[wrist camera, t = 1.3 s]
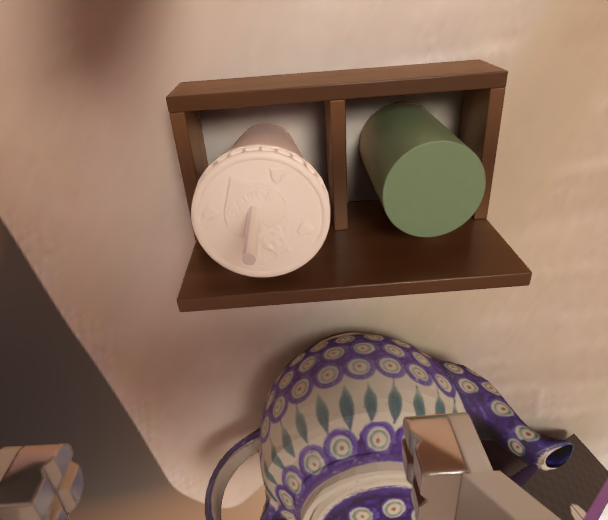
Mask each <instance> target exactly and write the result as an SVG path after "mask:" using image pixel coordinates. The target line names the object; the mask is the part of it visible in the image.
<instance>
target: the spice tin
mask: <svg viewBox="0 0 608 520" xmlns="http://www.w3.org/2000/svg"><path fill="white" fill-rule="evenodd" d="M359 150H360V155H361V158H362V161H363V163H364V166H365V168H366V170H367V172H368V175H369V177H370V179H371V181H372V183H373V186H374V188H375V190H376V192H377V195H378V197H379V199H380V201H381V204H382V206H383V208H384V210H385V213H386V214H387V216H388V218H389V219H390V221H391V222H392V223H393V224H394V225H395V226H396V227H397V228H398V229H400V230H401V231H403V232H405V233H407V234H410V235H413V236H418V237H435V236H440V235H443V234H446V233H449V232H451V231H453V230H455V229H457V228H458V227H460V226H461V225H463V224H464V223H465V222H466V221H467V220H468V219H469V218H470V217H471V216H472V215H473V214H474V213H475V211H476V210H477V208H478V207H479V205H480V203H481V201H482V198H483V195H484V191H485V184H486V178H485V171H484V168H483V165H482V163H481V161H480V159H479V158H478V157H477V155H476V154H475V153H474V152H473V151H472V150H471V149H470V148H468V147H467V146H466V145H465V144H464V143H463V142H462V141H461V140H460V139H458V138H457V137H456V136H455V135H454V134H453V133H452V132H451V131H450V130H448V129H447V128H446V127H445V126H444V125H443V124H442V123H441V122H439V121H438V120H437V119H436V118H435V117H434V116H433V115H432V114H431V113H429V112H428V111H427V110H426V109H425V108H423V107H422V106H420V105H417V104H414V103H410V102H397V103H393V104H389V105H387V106H385V107H383V108H381V109H379V110H378V111H377V112H376V113H374V114H373V115H372V116H371V117H370V119H369V120H368V121H367V123H366V124H365V126H364V128H363V130H362V133H361V136H360V142H359Z"/></svg>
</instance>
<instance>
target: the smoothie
mask: <svg viewBox="0 0 608 520" xmlns="http://www.w3.org/2000/svg"><path fill="white" fill-rule="evenodd" d="M191 218H192V225H193V229H194V232H195V235H196V237H197V239H198V241H199V243H200V244H201V246H202V247H203V249H204V250H205V251H206V252H207V254H208V255H209V256H210V257H211V258H212V259H213V260H215V261H216V262H217V263H219V264H220V265H222V266H223V267H225V268H227V269H229V270H231V271H233V272H236V273H239V274H242V275H246V276H251V277H274V276H279V275H283V274H286V273H289V272H292V271H294V270H296V269H298V268H300V267H301V266H303V265H304V264H306V263H307V262H308V261H309V260H311V259H312V258H313V257H314V256H315V254H316V253H317V252H318V251H319V249H320V248H321V246H322V245H323V243H324V241H325V239H326V236H327V234H328V230H329V225H330V203H329V194H328V192H327V189H326V187H325V184H324V182H323V180H322V178H321V176H320V175H319V174H318V173H317V171H316V170H315V169H314V168H313V166H312V165H311V164H310V163H308V162H307V161H306V160H304V159H303V157H302V155H301V154H300V152H299V150H298V148H297V146H296V144H295V143H294V141H293V139H292V137H291V136H290V134H289V133H288V132H287V131H286V130H284V129H283V128H281V127H279V126H277V125H274V124H269V123H262V124H257V125H255V126H252V127H251V128H249V129H248V130H247V131H245V132H244V134H243V135H242V136H241V137H240V138H239V140H238V141H237V142H236V143H235V145H234V146H233V147H232V148H231V149H230V151H229V152H227V153H224V154H222V155H221V156H220V157H218V158H217V159H216V160H215V161H214V162H212V163H211V164H210V165H209V166H208V167H207V168H206V170H205V171H204V173H203V174H202V176H201V177H200V179H199V180H198V183H197V186H196V189H195V193H194V196H193V201H192V207H191Z"/></svg>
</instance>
